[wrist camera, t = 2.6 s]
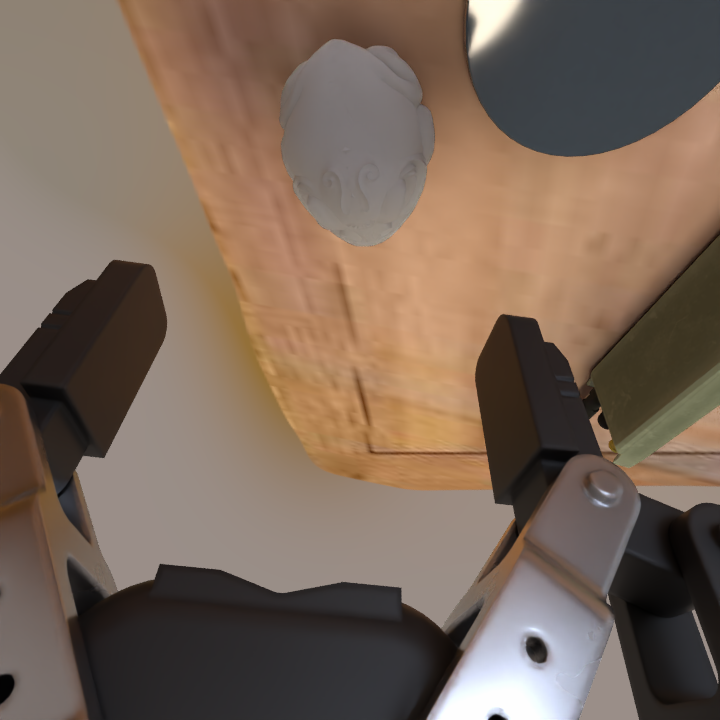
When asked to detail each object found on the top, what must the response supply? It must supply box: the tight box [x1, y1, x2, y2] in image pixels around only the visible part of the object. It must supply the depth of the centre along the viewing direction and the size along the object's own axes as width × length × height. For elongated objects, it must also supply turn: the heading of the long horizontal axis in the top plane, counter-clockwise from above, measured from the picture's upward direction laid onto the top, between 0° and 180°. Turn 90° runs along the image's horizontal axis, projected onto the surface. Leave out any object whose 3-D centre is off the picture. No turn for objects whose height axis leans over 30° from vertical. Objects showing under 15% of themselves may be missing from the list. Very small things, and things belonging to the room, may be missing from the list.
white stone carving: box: [279, 39, 435, 246], centre depth 17 cm, size 6×7×7 cm
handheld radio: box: [582, 235, 720, 468], centre depth 24 cm, size 7×3×25 cm
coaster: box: [464, 0, 720, 157], centre depth 16 cm, size 11×11×1 cm
